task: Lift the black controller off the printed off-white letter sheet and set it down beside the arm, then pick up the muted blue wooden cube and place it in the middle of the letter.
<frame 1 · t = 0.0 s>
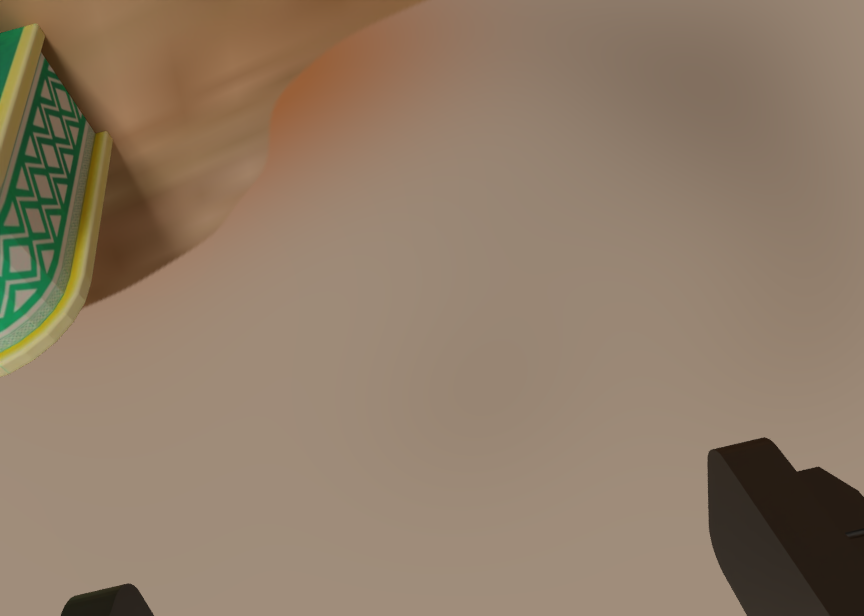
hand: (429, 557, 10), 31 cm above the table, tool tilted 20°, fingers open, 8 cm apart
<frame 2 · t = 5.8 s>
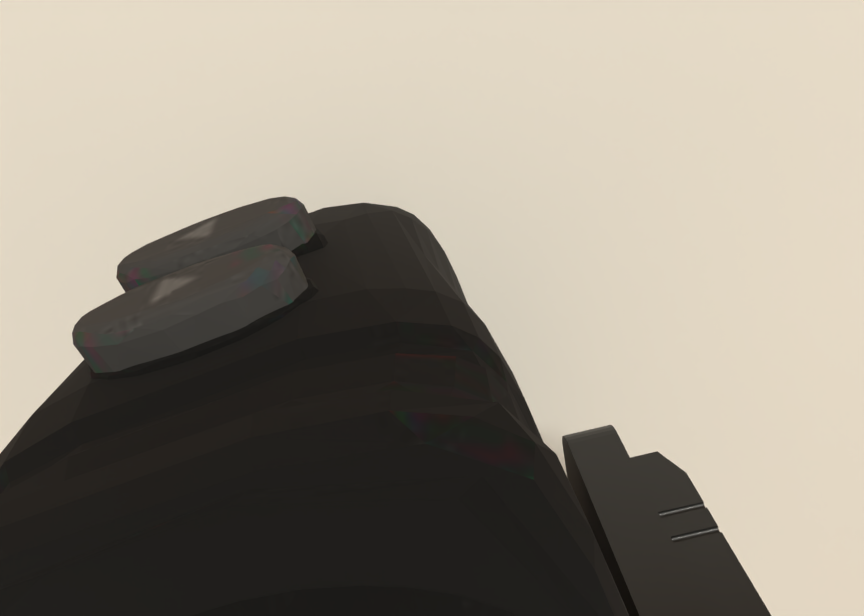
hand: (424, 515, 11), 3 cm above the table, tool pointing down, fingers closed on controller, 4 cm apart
letter: (411, 411, 13), on the table
controller: (411, 411, 13), resting on letter, touching gripper
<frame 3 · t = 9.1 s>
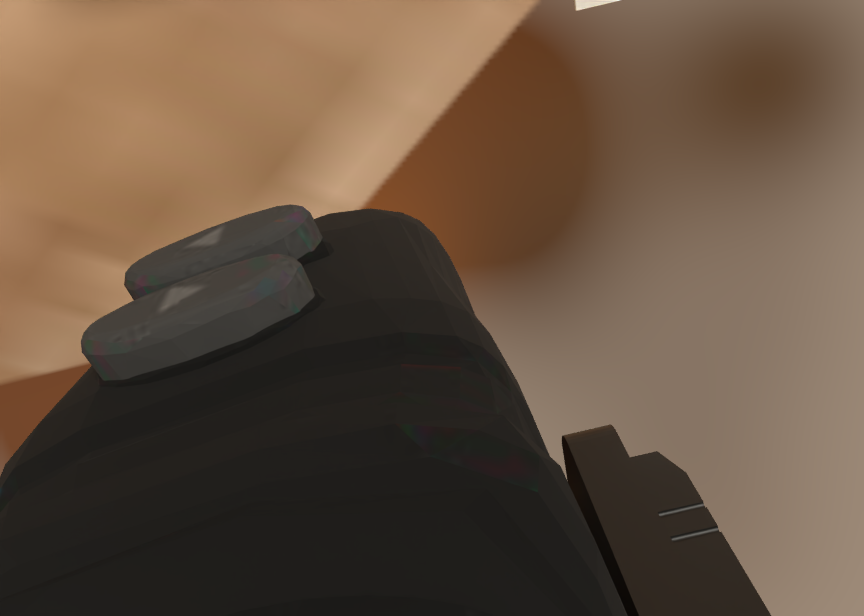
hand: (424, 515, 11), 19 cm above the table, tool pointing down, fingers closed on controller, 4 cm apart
controller: (415, 414, 13), point 17 cm above the table, touching gripper
when the fingers open (3 cm above the table, at t = 12.4 s): controller stays where it is, on the table.
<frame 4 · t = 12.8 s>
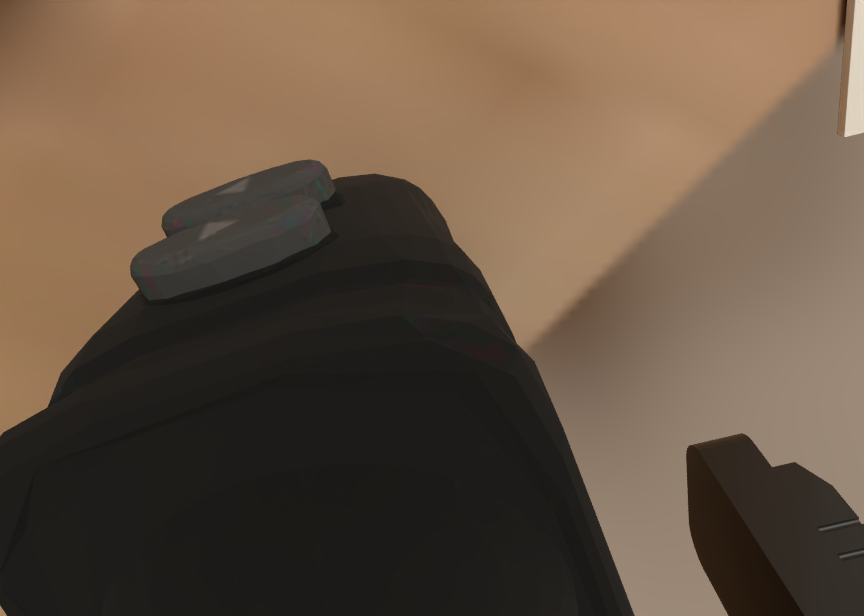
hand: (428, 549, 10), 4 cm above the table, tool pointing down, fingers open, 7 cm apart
controller: (411, 381, 14), on the table
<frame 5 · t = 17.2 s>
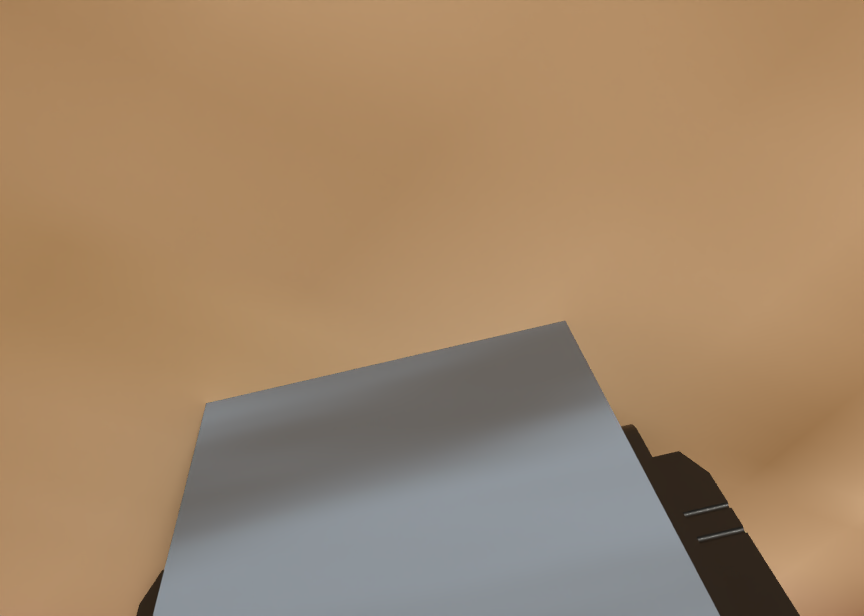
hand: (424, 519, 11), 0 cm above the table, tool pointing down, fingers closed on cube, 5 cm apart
cube: (422, 494, 11), on the table, touching gripper
when the fingers open (2 cm above the table, at t = 23.3 s): cube drops 1 cm, resting on letter.
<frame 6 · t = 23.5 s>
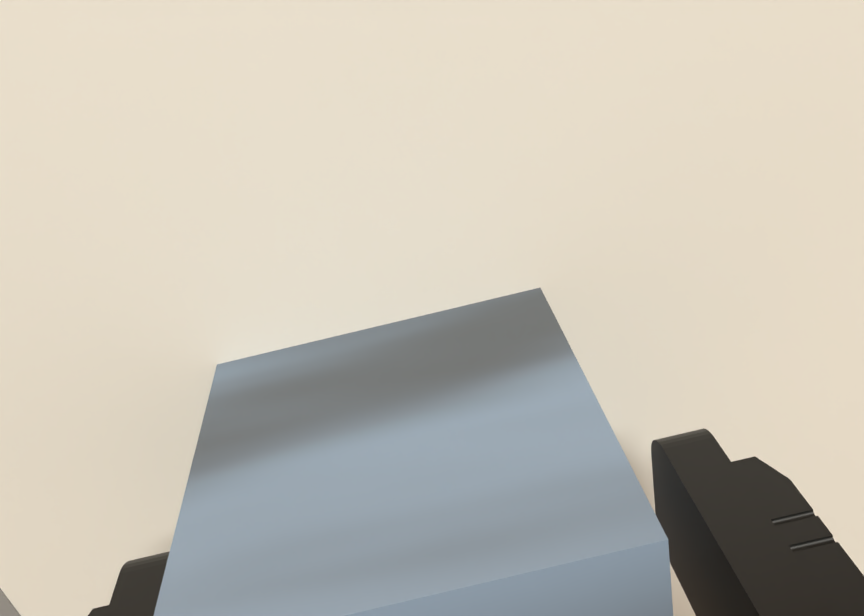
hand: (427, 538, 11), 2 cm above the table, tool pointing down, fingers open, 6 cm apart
letter: (413, 438, 13), on the table
cube: (414, 450, 12), resting on letter
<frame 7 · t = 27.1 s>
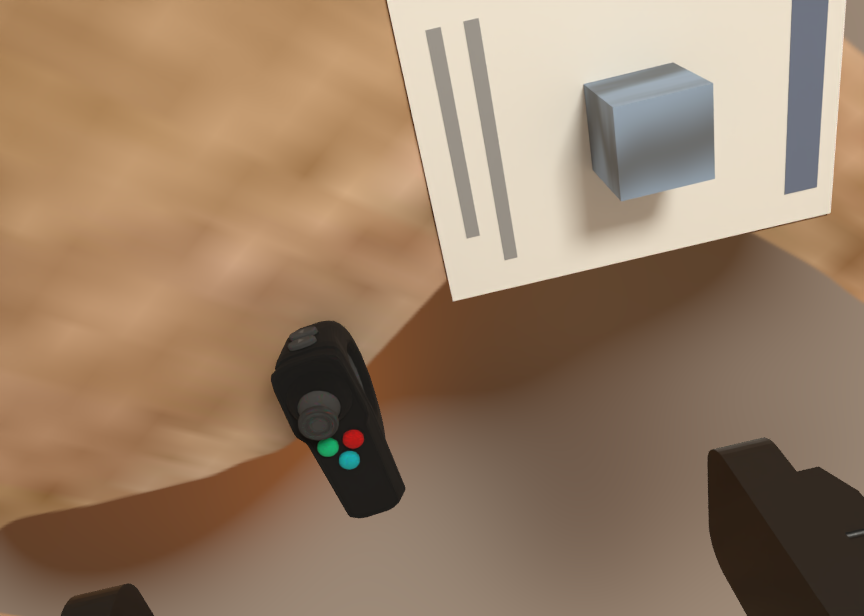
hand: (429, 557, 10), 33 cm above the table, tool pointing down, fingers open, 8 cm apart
letter: (630, 115, 42), on the table
controller: (341, 366, 48), on the table
cube: (631, 117, 42), resting on letter
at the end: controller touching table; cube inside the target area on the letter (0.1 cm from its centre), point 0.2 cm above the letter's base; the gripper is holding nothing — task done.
